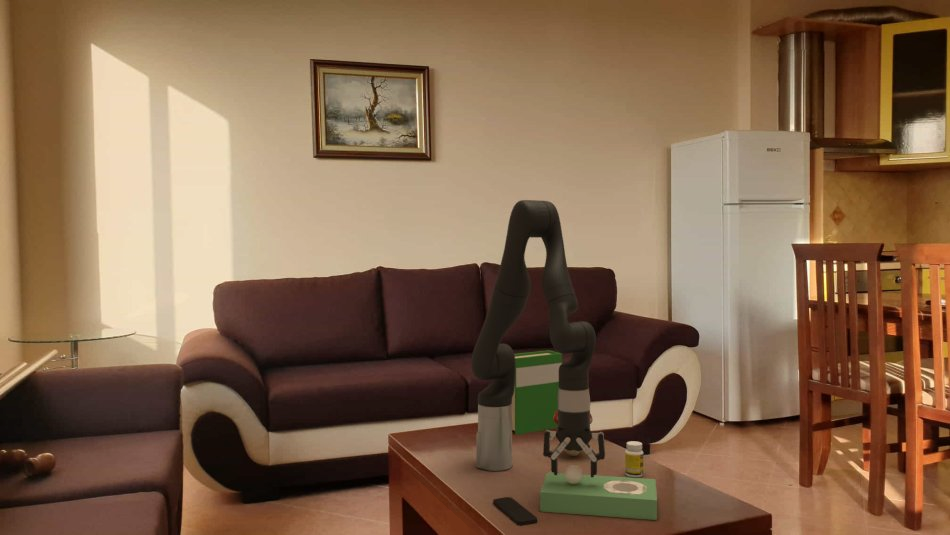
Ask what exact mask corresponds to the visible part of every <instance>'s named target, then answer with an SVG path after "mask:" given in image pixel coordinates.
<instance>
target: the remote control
mask: <svg viewBox="0 0 950 535" xmlns="http://www.w3.org/2000/svg"><path fill="white" fill-rule="evenodd" d="M493 504H494V505H495V506H496V507H495V506H494V505H493ZM492 505H493V506H494V507H495V508H497V509H498V510H499V511H500V512H501V513H502V514H503V515H505V516H506V517H507V518H508V517H509V518H508V519H509V520H511V521H512V522H513V523H514V524H515V523H516V524H515V525H517V526H519V527H524V526H528V525H529V526H530V525H533V524H534V525H535V524H537V523H538V518H537V516H536V515H534V514H533V513H532V512H530V511H529V510H528V509H527V508H525V507H524V506H522V504H520V503H519V502H518V501H516V500H515V499H514V498H512V497H509V496H504V497H499V498H498V497H497V498H494V499H493V500H492ZM523 525H524V526H523Z"/></svg>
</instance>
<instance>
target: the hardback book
mask: <svg viewBox="0 0 950 535" xmlns="http://www.w3.org/2000/svg"><path fill="white" fill-rule="evenodd" d="M514 356H515V387H514V394H513V397H512V432H513V431H514V435H515V436H517V435H518V434H519V435H523V434H529V433H530V434H531V433H534V432H540V431H541V432H542V431H546V430H547V429H549V430H551V429H558V424H556V423H555V422H554V415H555V413H556V412H557V410H558V391H559V367H560V365H561V364H563V353H560V352H558V351H557V352H556V351H553V350H549V349H548V350H539V351H531V352H521V353H514Z"/></svg>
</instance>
